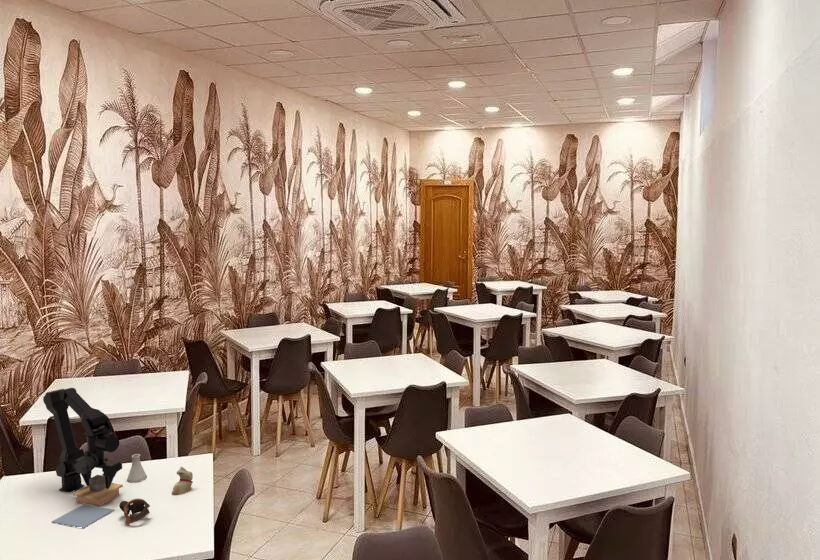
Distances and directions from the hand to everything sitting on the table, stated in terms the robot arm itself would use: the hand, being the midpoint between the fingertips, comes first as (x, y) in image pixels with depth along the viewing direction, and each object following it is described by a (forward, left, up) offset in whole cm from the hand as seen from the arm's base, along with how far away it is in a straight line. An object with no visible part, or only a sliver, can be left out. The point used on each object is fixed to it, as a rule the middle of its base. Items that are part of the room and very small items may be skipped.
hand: (97, 487), depth 234 cm
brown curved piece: (+24, -9, -5) cm, 26 cm away
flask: (+1, +19, -5) cm, 20 cm away
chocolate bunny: (+26, +15, -5) cm, 30 cm away
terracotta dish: (0, 0, -4) cm, 4 cm away
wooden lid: (0, 0, -2) cm, 2 cm away
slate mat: (+6, -13, -4) cm, 15 cm away
